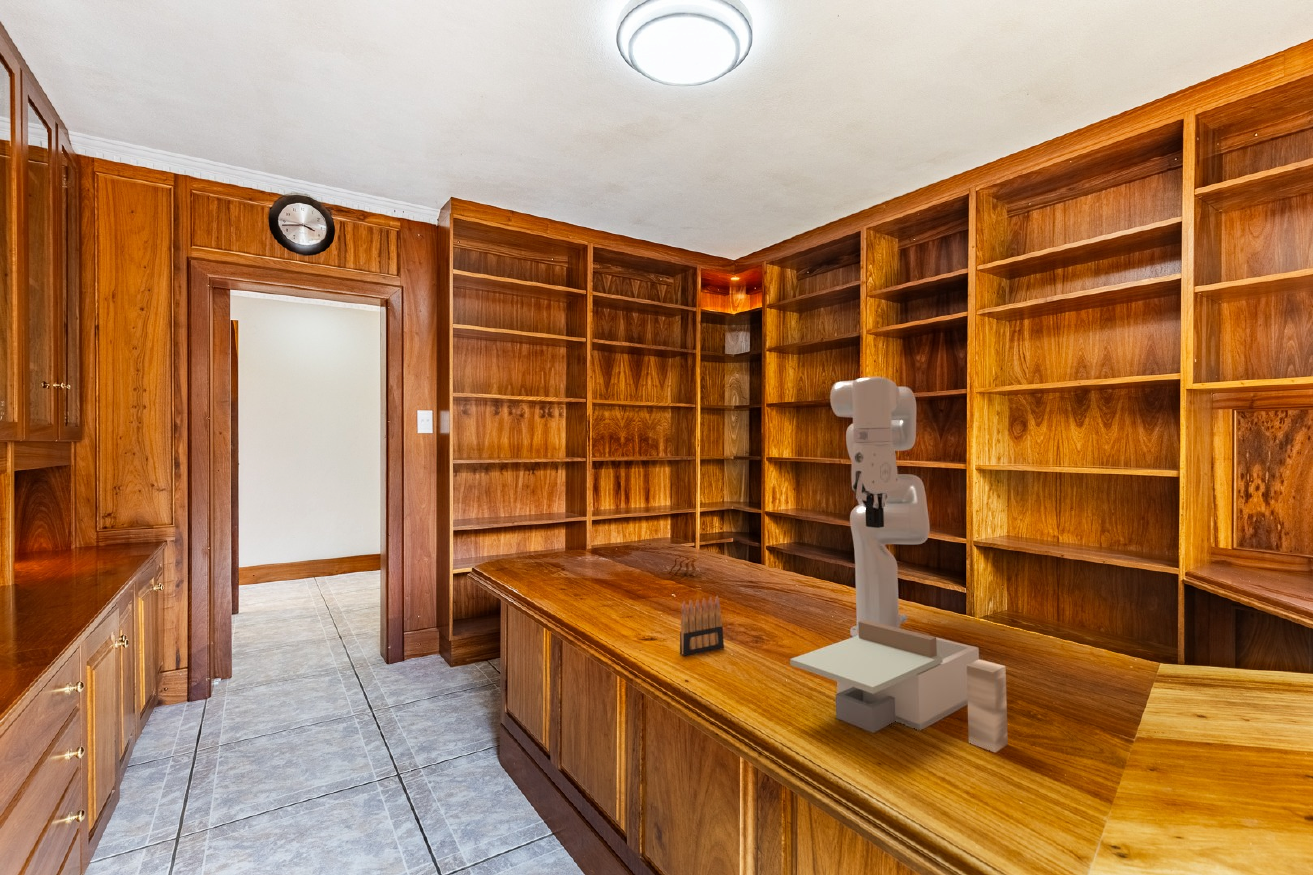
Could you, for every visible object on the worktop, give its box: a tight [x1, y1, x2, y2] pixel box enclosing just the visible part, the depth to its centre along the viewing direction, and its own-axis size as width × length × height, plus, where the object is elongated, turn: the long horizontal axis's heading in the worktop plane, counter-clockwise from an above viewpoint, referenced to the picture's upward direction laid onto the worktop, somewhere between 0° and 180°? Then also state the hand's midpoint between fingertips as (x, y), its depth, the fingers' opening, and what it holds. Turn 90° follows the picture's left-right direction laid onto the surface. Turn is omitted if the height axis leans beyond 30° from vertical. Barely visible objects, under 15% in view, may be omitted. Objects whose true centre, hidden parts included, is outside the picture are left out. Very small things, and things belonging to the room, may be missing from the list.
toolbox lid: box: [789, 620, 943, 694], centre depth 106 cm, size 20×16×4 cm
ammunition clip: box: [679, 595, 725, 657], centre depth 142 cm, size 11×2×12 cm, turn 118°
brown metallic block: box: [967, 658, 1009, 754], centre depth 97 cm, size 4×4×12 cm
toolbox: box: [834, 636, 980, 734], centre depth 112 cm, size 26×16×9 cm, turn 127°
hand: (874, 526), depth 129 cm, fingers closed
